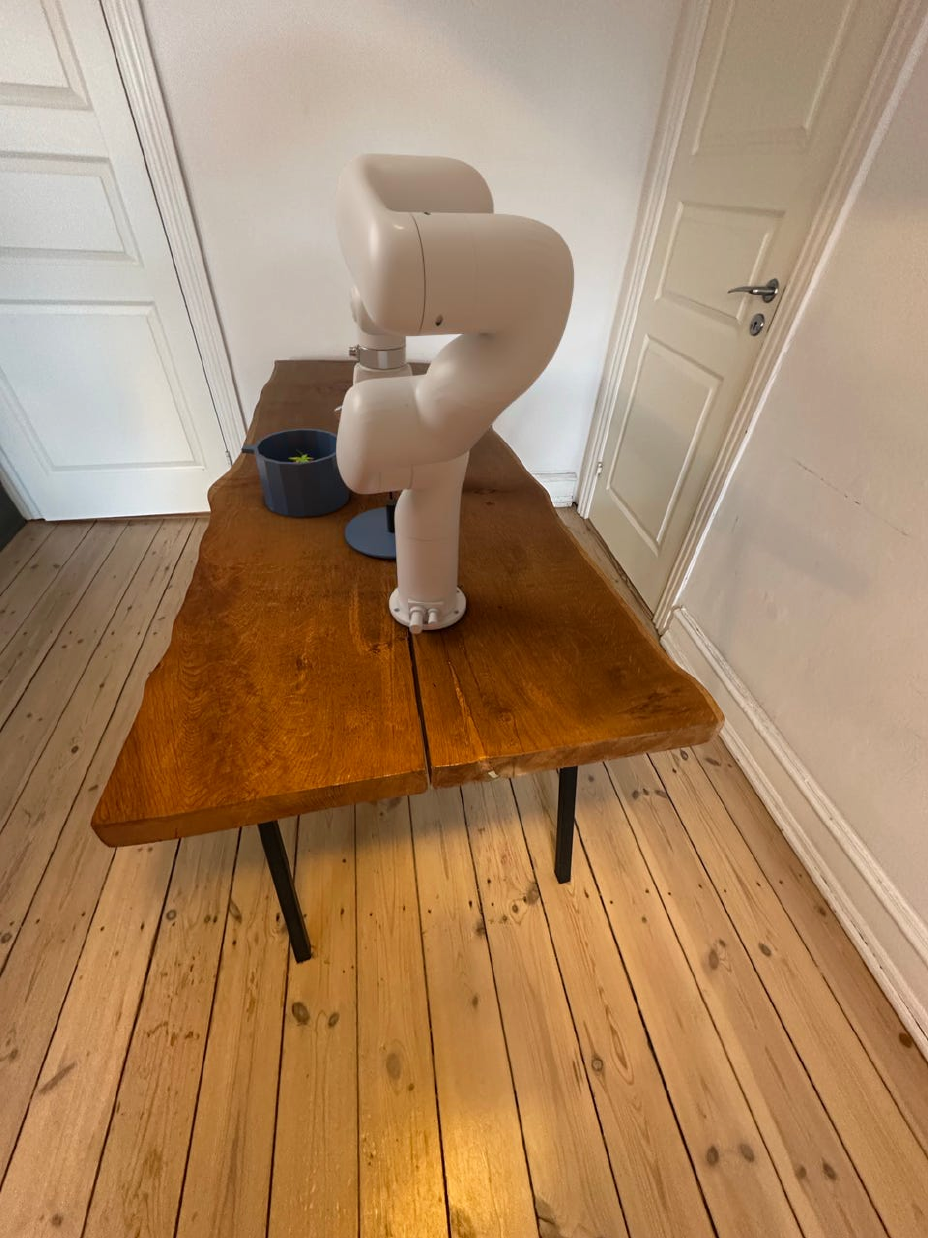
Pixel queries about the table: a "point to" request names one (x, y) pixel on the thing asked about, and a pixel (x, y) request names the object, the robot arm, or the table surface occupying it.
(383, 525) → the lid
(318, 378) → the table surface
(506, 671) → the table surface
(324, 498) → the pot
